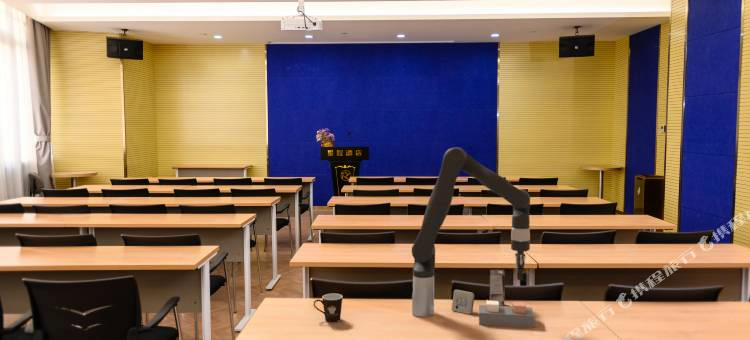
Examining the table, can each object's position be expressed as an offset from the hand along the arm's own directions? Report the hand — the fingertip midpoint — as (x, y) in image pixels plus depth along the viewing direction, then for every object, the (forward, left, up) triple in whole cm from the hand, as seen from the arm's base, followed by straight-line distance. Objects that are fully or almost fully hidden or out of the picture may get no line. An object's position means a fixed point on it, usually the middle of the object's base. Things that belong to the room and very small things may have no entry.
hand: (519, 279), depth 234 cm
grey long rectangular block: (-6, 0, -18) cm, 19 cm away
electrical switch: (-24, +11, -19) cm, 32 cm away
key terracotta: (0, 0, -15) cm, 15 cm away
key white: (-11, 0, -15) cm, 19 cm away
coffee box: (-9, +19, -19) cm, 28 cm away
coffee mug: (-80, -8, -19) cm, 82 cm away
